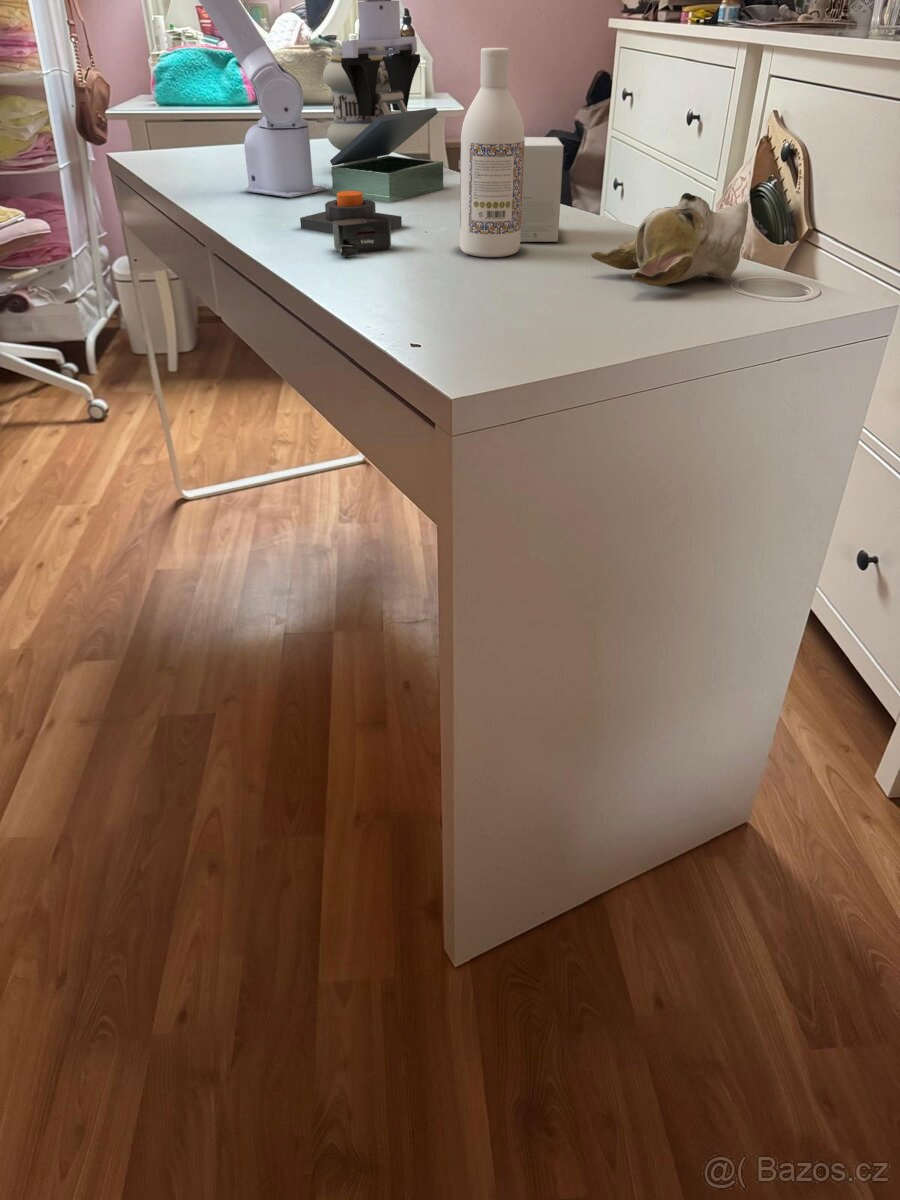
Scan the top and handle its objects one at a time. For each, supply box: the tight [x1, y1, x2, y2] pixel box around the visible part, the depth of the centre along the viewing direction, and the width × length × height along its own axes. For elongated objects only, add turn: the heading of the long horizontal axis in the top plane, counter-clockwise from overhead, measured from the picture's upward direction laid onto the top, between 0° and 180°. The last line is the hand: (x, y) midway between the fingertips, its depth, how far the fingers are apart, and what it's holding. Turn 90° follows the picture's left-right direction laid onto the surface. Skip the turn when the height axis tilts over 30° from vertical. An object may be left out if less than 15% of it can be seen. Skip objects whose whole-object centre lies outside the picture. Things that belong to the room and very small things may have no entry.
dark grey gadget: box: [333, 217, 392, 258], centre depth 102 cm, size 5×7×3 cm, turn 118°
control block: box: [299, 198, 403, 235], centre depth 113 cm, size 10×8×3 cm
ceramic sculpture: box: [590, 192, 750, 287], centre depth 90 cm, size 11×9×15 cm
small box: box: [520, 136, 565, 243], centre depth 107 cm, size 8×6×10 cm
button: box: [336, 191, 364, 206], centre depth 112 cm, size 3×3×2 cm
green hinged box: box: [330, 155, 444, 203], centre depth 134 cm, size 11×14×4 cm
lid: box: [329, 90, 439, 167], centre depth 131 cm, size 11×14×5 cm
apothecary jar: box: [322, 46, 393, 164], centre depth 146 cm, size 12×12×18 cm
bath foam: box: [459, 47, 526, 258], centre depth 98 cm, size 7×7×20 cm
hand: (384, 113), depth 131 cm, fingers open, 7 cm apart
